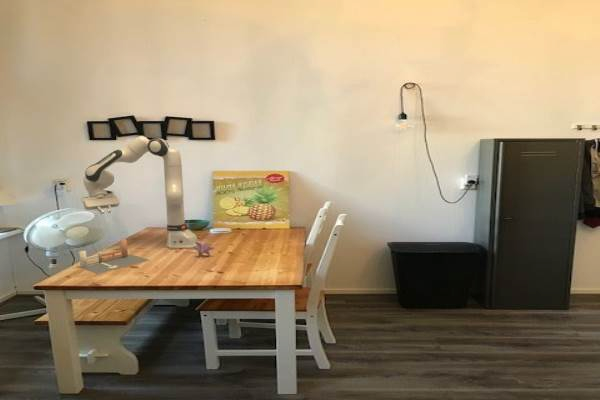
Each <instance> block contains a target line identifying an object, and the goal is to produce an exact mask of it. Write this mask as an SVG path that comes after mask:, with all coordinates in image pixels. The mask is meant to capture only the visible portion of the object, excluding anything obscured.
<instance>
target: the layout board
mask: <svg viewBox="0 0 600 400" xmlns="http://www.w3.org/2000/svg"><path fill="white" fill-rule="evenodd" d="M102 261H103V260H102ZM147 262H150V259H148V258H146V257H145V258H144V257H141V256H137V255H135V254H132V253H131V254H128V256H126V257H118V258H115V259H109V260H105V261H103V263H99V262H97V263H92V264H88V265H87V267H83V268H81V265H80V266H78V267H79V268H81V269H83V270H85V271H88V272H91V273H94V274H95V275H99V274H104V273H108V272H111V271H115V270H119V269H121V268H122V269H123V268H126V267H130V266H135V265H138V264H142V263H147Z"/></svg>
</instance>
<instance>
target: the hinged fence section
mask: <svg viewBox="0 0 600 400" xmlns="http://www.w3.org/2000/svg"><path fill="white" fill-rule="evenodd" d="M119 253H121V254H119ZM128 253H129V252H128V242H127V238H122V239H120V250H119V249H118V250H114V251H110V252H106V253H101V254H102V261H105V260H109V259H115V258H118V257H126V256H128V255H129V254H128ZM110 255H112V256H110ZM106 256H108V257H106ZM103 257H104V258H103Z"/></svg>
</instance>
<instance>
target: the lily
mask: <svg viewBox="0 0 600 400" xmlns="http://www.w3.org/2000/svg"><path fill="white" fill-rule="evenodd" d="M199 242H200V241H199ZM199 242H196V241H195V243H196V245H197V246H196V247H193V248H192V250H194V251H198V252H197V253H198V255H199V256H200V255H201V259H203V254H206V255H208V256H211V253H210V251H212V250H215V247H214V246H210V245H209V246H208V242H205V243H202V242H201V243H199Z"/></svg>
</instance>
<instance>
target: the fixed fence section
mask: <svg viewBox="0 0 600 400" xmlns="http://www.w3.org/2000/svg"><path fill="white" fill-rule="evenodd" d="M78 253H79V254H78V255H79V264H80V266H81V269H83V267H87V265H88V264H92V263H97V262H99V263H103V256H102V254H103V253H99V254H96V255H91V256H87V250H80V251H78ZM93 259H95V260H93ZM89 260H90V261H89Z"/></svg>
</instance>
